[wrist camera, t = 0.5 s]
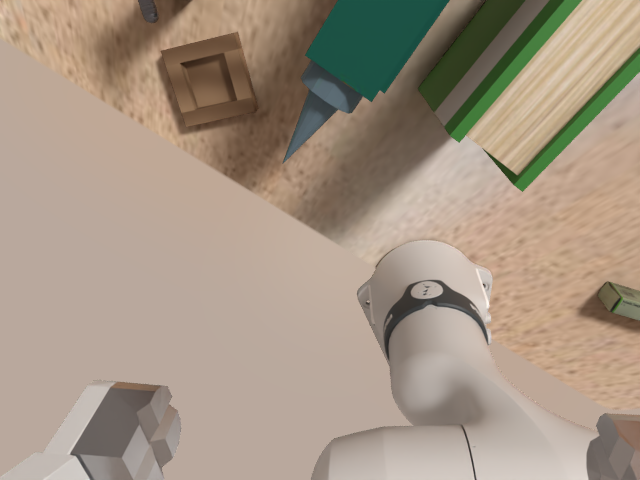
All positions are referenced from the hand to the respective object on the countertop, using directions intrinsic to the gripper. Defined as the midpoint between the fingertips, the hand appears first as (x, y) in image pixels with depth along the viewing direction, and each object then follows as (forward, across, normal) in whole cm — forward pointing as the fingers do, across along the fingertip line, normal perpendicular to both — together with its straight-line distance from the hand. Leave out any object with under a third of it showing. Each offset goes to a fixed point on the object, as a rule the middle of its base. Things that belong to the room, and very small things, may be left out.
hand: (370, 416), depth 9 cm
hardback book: (+55, +11, -6) cm, 56 cm away
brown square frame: (+52, -22, -8) cm, 57 cm away
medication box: (+51, +34, -40) cm, 73 cm away
